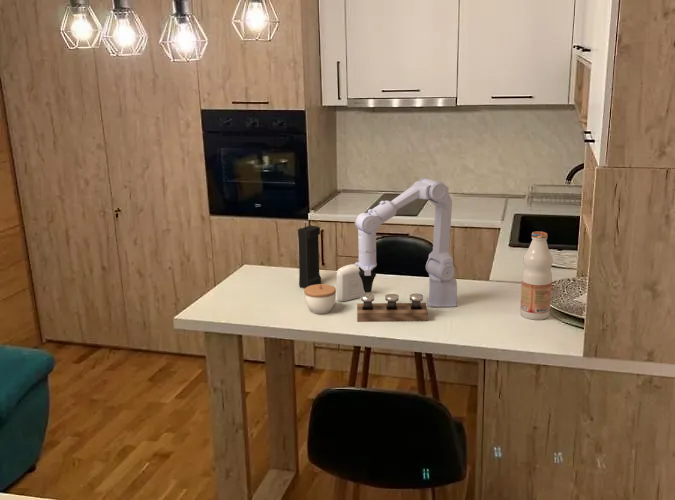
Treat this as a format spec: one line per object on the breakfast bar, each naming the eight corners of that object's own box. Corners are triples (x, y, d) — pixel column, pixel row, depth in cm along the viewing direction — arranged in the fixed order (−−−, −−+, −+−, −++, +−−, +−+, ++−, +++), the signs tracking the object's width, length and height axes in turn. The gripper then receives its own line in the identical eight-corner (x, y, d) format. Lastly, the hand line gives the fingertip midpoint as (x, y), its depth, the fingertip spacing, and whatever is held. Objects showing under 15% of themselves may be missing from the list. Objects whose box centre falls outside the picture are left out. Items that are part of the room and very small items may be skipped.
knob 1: (374, 306, 242) (374, 293, 241) (374, 311, 238) (374, 298, 236) (361, 306, 242) (360, 293, 241) (361, 311, 238) (361, 298, 237)
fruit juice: (515, 316, 238) (519, 234, 230) (526, 308, 245) (531, 228, 237) (543, 322, 233) (548, 238, 225) (553, 313, 240) (559, 231, 232)
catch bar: (425, 311, 244) (425, 302, 243) (427, 321, 236) (428, 312, 235) (357, 311, 245) (357, 303, 244) (357, 321, 236) (357, 313, 236)
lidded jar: (337, 305, 252) (336, 279, 249) (335, 316, 241) (334, 289, 239) (306, 305, 252) (305, 279, 250) (303, 316, 242) (302, 289, 239)
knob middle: (398, 306, 242) (398, 293, 240) (399, 310, 237) (399, 298, 236) (385, 306, 242) (385, 293, 241) (385, 310, 238) (385, 298, 236)
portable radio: (310, 281, 277) (308, 217, 270) (323, 284, 273) (321, 219, 266) (297, 287, 271) (295, 222, 264) (310, 290, 267) (308, 224, 260)
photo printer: (358, 293, 263) (358, 261, 259) (365, 296, 259) (365, 263, 256) (334, 299, 257) (334, 266, 254) (341, 302, 254) (341, 269, 250)
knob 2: (422, 305, 241) (422, 293, 240) (423, 310, 237) (423, 297, 236) (409, 305, 241) (409, 293, 240) (410, 310, 237) (410, 298, 236)
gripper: (354, 244, 241) (355, 282, 245) (354, 256, 227) (355, 297, 231) (376, 243, 241) (376, 282, 245) (377, 256, 227) (377, 297, 231)
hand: (367, 289), depth 238 cm, fingers open, 4 cm apart
